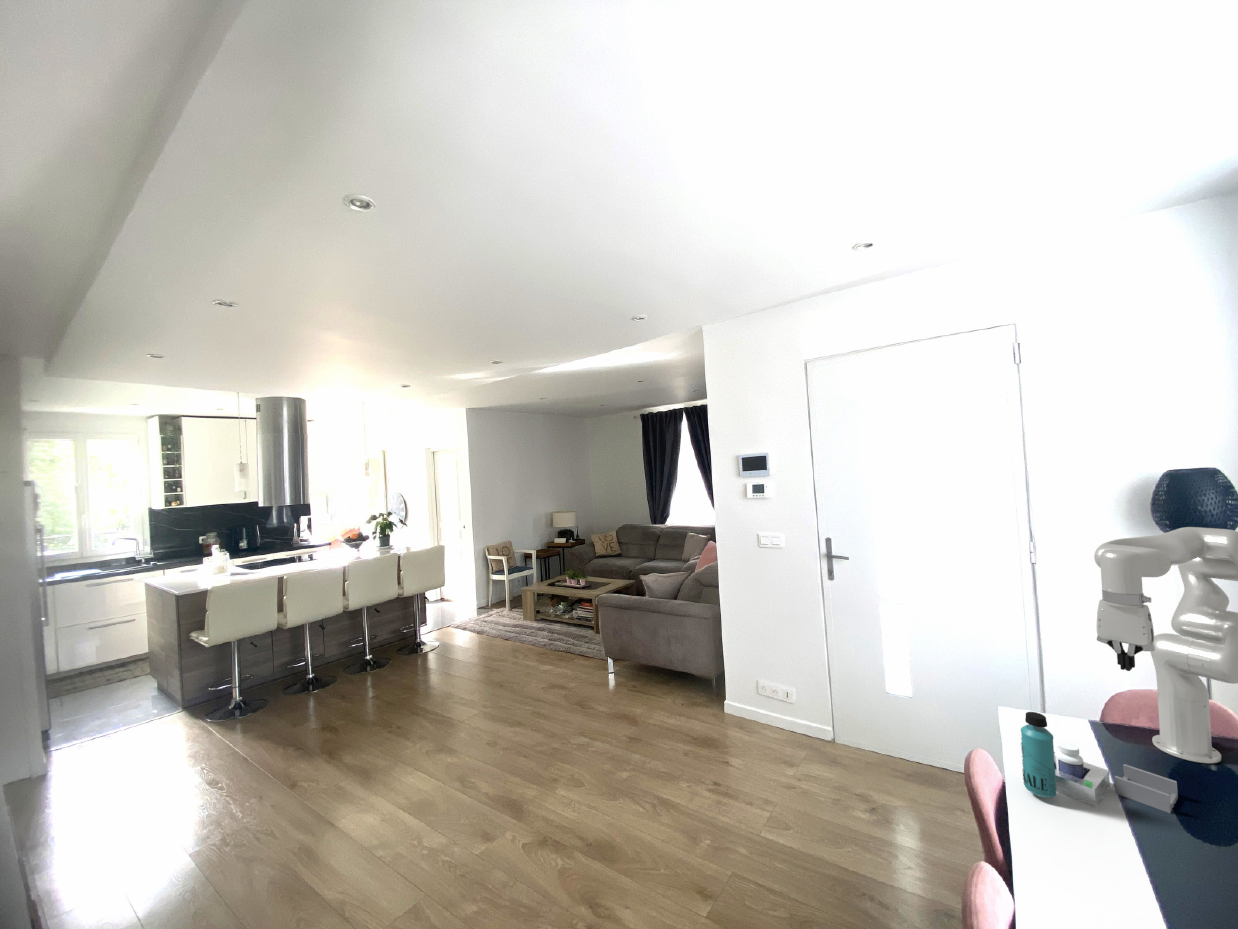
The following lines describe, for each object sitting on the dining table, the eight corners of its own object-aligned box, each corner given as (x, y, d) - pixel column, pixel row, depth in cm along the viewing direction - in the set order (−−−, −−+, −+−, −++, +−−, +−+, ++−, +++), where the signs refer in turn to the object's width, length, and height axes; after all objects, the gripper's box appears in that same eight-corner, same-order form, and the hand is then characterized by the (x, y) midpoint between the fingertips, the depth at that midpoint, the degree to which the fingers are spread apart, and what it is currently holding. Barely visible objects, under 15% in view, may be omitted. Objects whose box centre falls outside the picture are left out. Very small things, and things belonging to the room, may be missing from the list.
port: (1049, 764, 135) (1048, 747, 135) (1110, 786, 125) (1108, 768, 125) (1032, 782, 129) (1031, 764, 129) (1095, 806, 119) (1094, 787, 119)
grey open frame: (1124, 779, 128) (1123, 764, 128) (1177, 798, 120) (1176, 781, 120) (1115, 793, 123) (1114, 777, 123) (1170, 813, 115) (1168, 796, 115)
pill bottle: (1090, 791, 124) (1088, 752, 124) (1066, 790, 125) (1064, 751, 125) (1074, 778, 129) (1072, 740, 129) (1051, 777, 130) (1049, 739, 130)
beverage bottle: (1052, 790, 125) (1047, 710, 125) (1062, 807, 119) (1057, 723, 119) (1019, 785, 128) (1015, 706, 128) (1028, 801, 122) (1023, 718, 122)
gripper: (1167, 601, 126) (1172, 674, 126) (1088, 590, 138) (1092, 657, 138) (1160, 606, 122) (1165, 682, 122) (1079, 595, 134) (1083, 664, 134)
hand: (1126, 668), depth 130 cm, fingers closed
